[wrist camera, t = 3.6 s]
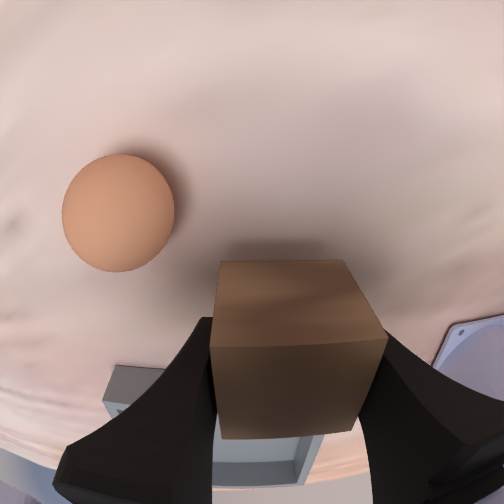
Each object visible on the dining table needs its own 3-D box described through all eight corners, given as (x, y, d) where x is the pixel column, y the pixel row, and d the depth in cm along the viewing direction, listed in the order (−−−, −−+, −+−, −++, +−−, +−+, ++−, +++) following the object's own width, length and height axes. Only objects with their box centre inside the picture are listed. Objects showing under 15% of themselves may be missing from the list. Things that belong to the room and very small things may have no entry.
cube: (342, 259, 11) (388, 337, 7) (326, 349, 13) (351, 430, 9) (220, 261, 11) (209, 346, 7) (225, 352, 13) (221, 439, 9)
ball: (181, 143, 12) (150, 158, 8) (187, 242, 14) (166, 296, 10) (87, 153, 12) (29, 174, 8) (100, 244, 13) (57, 292, 9)
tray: (324, 367, 17) (335, 405, 15) (300, 457, 23) (303, 484, 20) (115, 365, 17) (101, 400, 14) (158, 456, 23) (154, 482, 20)
